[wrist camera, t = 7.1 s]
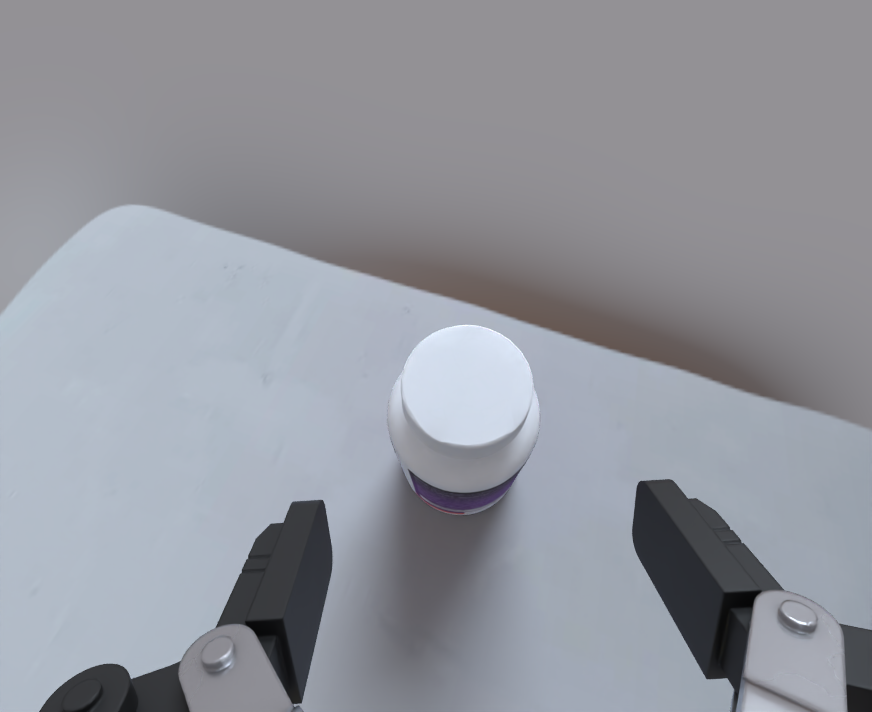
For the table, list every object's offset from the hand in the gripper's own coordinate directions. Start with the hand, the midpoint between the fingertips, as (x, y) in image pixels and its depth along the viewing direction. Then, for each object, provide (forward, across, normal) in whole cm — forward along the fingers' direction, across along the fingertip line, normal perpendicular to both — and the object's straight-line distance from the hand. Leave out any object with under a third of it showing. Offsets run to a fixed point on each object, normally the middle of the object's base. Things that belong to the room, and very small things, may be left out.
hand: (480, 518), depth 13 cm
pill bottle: (+10, 0, +5) cm, 11 cm away
